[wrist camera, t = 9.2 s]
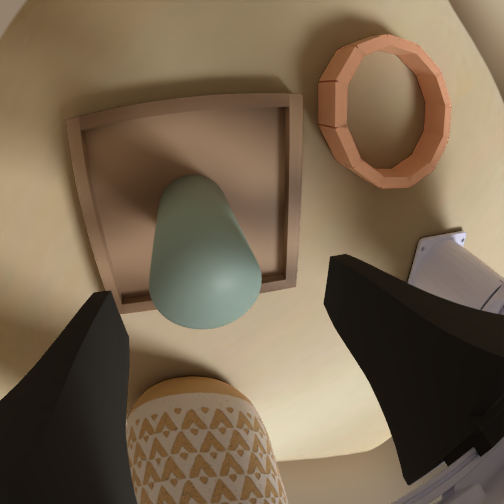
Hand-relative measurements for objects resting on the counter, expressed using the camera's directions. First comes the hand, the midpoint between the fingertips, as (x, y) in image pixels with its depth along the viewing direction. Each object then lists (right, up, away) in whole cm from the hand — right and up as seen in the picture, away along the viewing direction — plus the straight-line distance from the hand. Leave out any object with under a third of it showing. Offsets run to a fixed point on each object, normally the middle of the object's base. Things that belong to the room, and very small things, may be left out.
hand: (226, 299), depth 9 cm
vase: (-6, -14, +18) cm, 24 cm away
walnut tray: (-3, +4, +8) cm, 10 cm away
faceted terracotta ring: (+10, +12, +8) cm, 17 cm away
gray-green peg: (-3, +4, +8) cm, 9 cm away
